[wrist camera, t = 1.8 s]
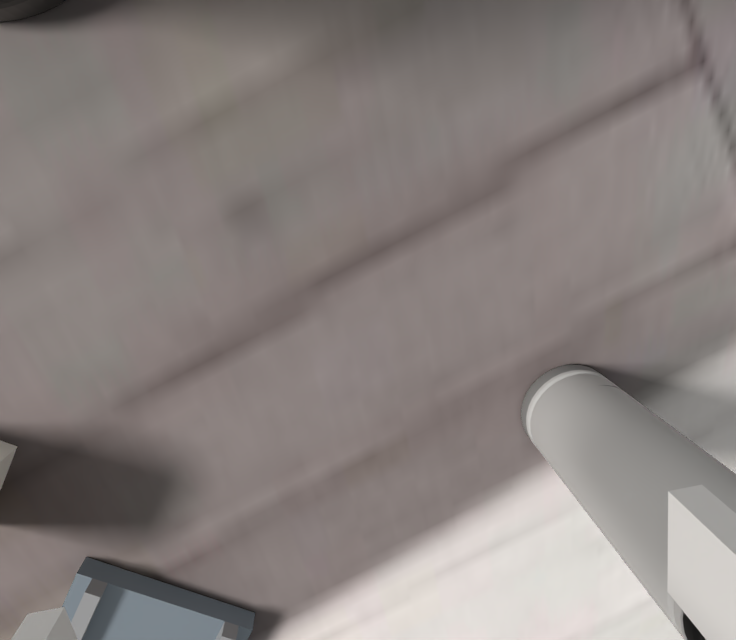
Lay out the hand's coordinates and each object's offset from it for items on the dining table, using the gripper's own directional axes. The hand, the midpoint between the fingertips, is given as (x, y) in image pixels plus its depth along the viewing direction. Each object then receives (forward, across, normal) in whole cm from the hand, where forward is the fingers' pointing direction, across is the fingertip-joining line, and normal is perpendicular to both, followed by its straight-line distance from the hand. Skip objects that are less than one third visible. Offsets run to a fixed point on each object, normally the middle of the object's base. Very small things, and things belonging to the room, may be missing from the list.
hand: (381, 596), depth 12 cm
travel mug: (+22, +14, -9) cm, 27 cm away
